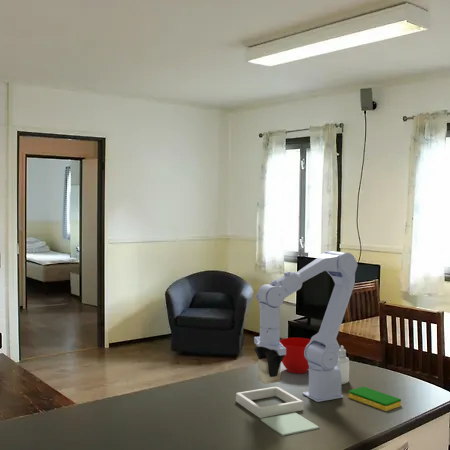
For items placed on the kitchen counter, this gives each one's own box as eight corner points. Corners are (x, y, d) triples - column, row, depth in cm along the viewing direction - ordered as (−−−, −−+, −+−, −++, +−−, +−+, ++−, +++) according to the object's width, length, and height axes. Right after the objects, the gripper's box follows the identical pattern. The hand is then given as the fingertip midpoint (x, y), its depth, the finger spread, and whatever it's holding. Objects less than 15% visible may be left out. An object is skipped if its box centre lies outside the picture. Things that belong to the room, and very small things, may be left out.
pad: (295, 413, 157) (295, 412, 157) (318, 428, 147) (318, 426, 147) (260, 420, 152) (260, 418, 152) (282, 435, 143) (282, 434, 143)
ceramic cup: (317, 381, 186) (318, 350, 185) (271, 372, 195) (272, 343, 195) (332, 371, 197) (333, 342, 196) (288, 363, 206) (289, 335, 205)
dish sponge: (363, 393, 175) (363, 386, 175) (401, 407, 164) (401, 399, 164) (347, 398, 171) (347, 390, 171) (385, 412, 160) (386, 404, 160)
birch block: (273, 377, 166) (273, 356, 166) (280, 381, 162) (280, 360, 162) (258, 379, 164) (258, 358, 163) (265, 384, 160) (265, 362, 160)
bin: (276, 394, 173) (277, 386, 173) (303, 410, 160) (303, 401, 160) (235, 401, 167) (236, 392, 166) (259, 418, 154) (259, 408, 154)
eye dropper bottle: (352, 384, 183) (353, 347, 183) (336, 385, 182) (336, 348, 181) (346, 379, 187) (347, 343, 187) (330, 380, 186) (331, 344, 186)
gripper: (245, 323, 167) (244, 368, 168) (270, 333, 154) (270, 383, 155) (266, 321, 170) (265, 365, 171) (292, 331, 157) (292, 379, 158)
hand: (269, 374), depth 163 cm, fingers closed on birch block, 4 cm apart
